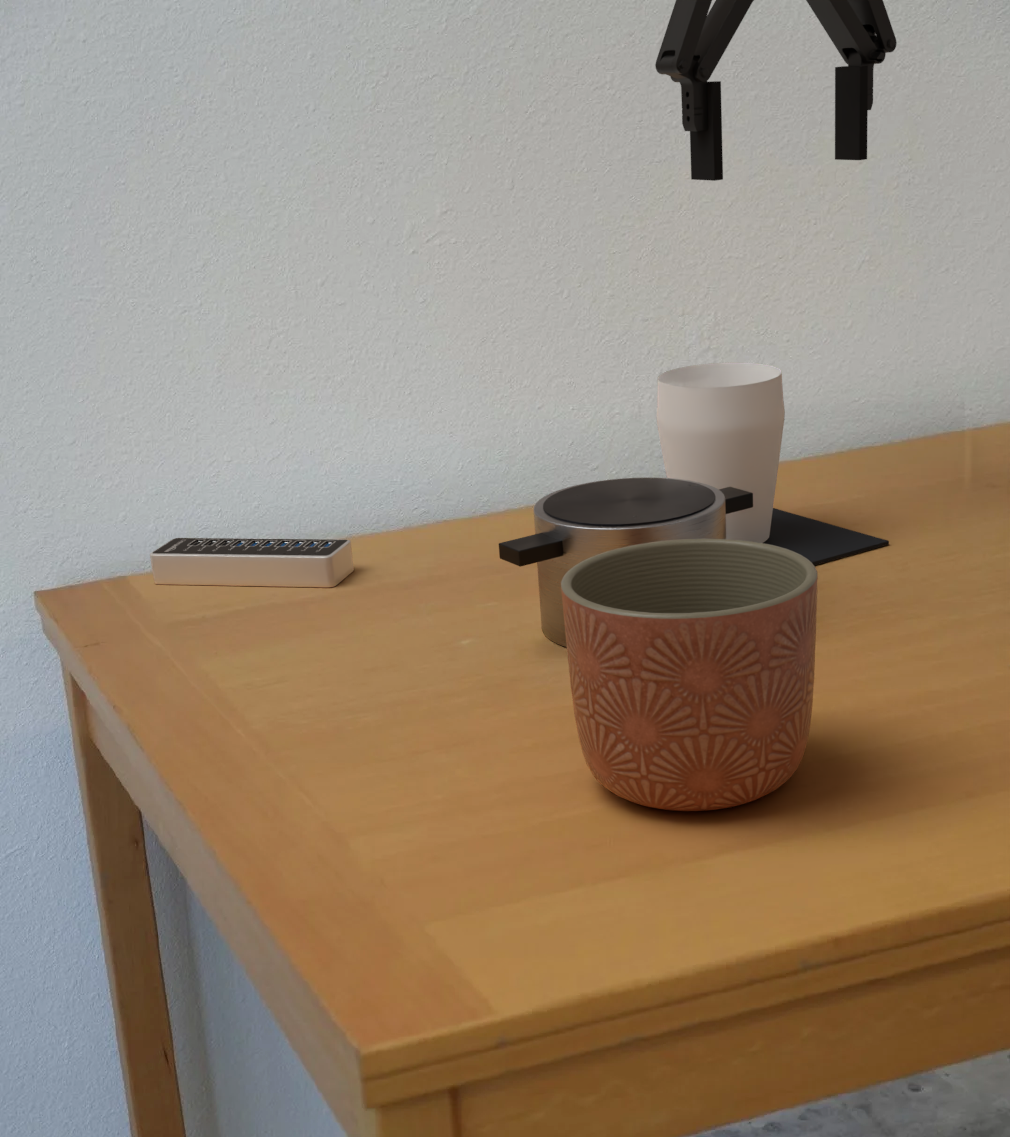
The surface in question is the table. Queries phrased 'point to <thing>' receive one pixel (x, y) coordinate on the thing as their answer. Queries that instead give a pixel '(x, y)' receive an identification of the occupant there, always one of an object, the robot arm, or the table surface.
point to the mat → (817, 538)
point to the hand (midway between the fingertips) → (780, 170)
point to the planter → (692, 669)
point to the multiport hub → (253, 562)
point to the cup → (725, 434)
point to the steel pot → (614, 528)
